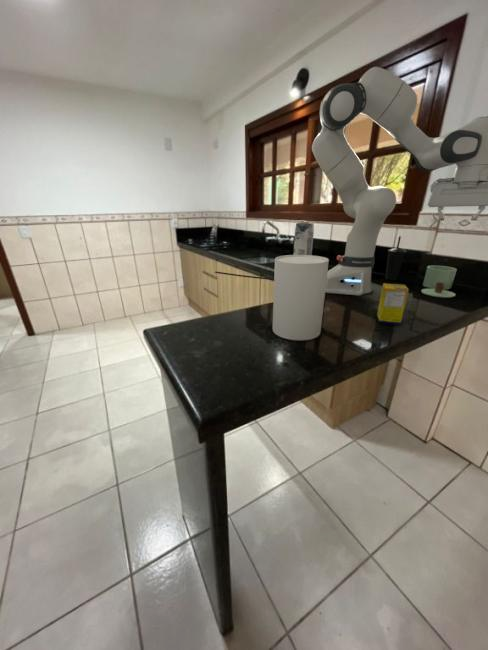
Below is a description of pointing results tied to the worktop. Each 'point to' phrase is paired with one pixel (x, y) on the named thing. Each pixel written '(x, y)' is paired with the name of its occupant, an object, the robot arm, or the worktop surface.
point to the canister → (299, 296)
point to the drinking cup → (394, 262)
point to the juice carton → (303, 238)
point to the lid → (438, 291)
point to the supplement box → (392, 303)
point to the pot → (439, 276)
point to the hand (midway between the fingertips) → (457, 220)
